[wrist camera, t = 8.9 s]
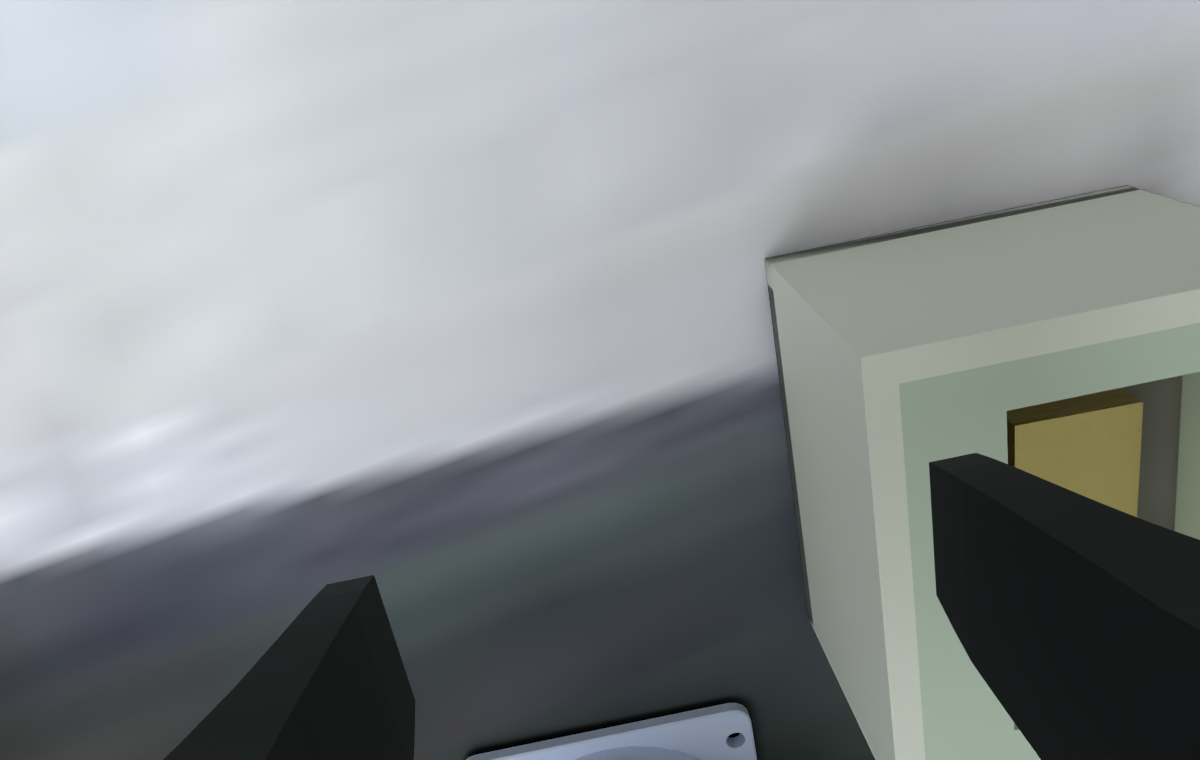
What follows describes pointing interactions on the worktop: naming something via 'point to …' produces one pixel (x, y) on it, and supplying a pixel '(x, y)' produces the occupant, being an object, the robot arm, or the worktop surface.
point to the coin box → (966, 419)
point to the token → (1082, 445)
